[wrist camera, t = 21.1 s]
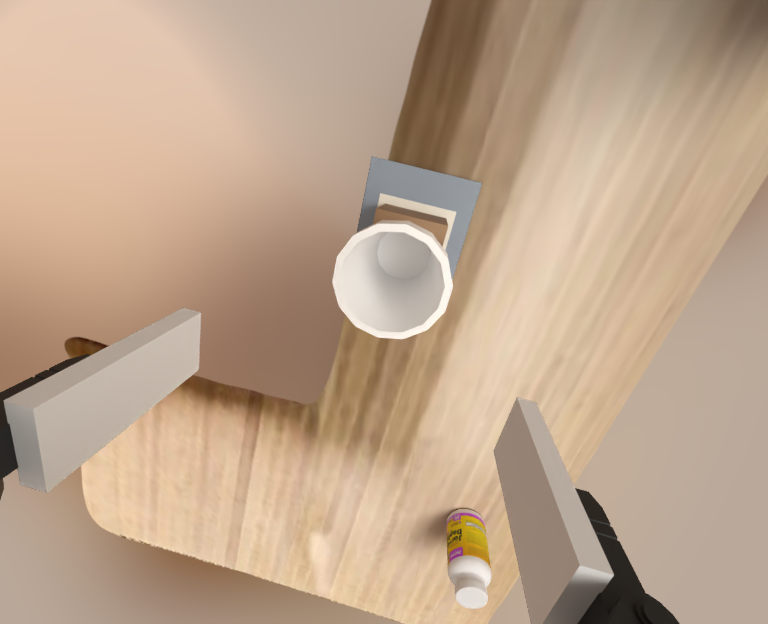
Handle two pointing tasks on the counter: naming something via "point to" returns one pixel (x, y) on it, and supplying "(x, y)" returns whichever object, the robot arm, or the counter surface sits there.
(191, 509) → the counter surface
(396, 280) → the foam cup
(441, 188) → the blue flat board
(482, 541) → the supplement bottle
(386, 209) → the walnut cube
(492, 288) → the counter surface
